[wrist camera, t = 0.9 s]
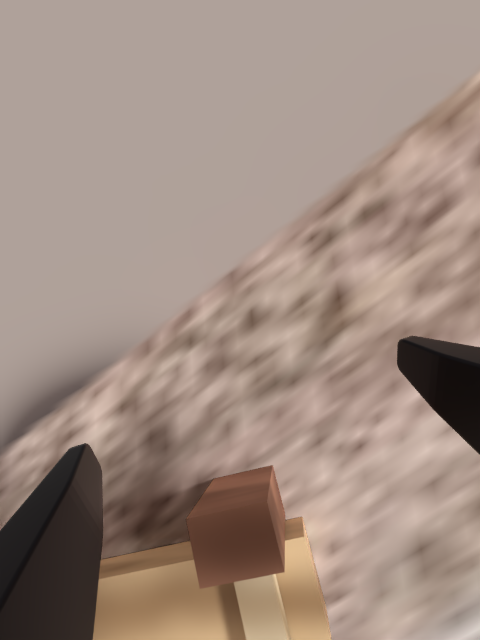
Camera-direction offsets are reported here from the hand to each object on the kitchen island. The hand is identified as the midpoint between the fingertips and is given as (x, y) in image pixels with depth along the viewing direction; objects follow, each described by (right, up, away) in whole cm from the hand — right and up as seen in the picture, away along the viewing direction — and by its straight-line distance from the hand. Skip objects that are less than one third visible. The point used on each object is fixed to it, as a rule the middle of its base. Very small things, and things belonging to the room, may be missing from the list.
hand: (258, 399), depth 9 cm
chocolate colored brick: (+1, -12, +11) cm, 17 cm away
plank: (-6, -15, +12) cm, 20 cm away
